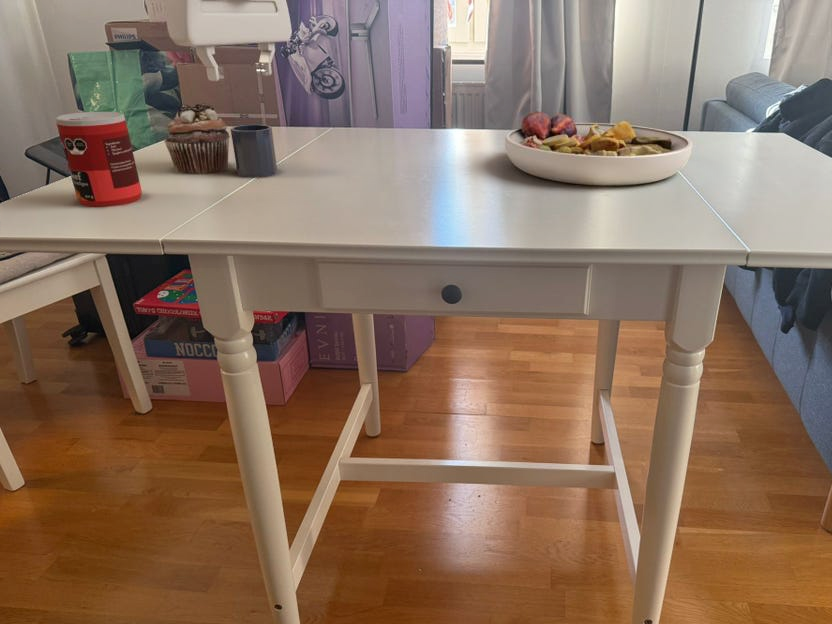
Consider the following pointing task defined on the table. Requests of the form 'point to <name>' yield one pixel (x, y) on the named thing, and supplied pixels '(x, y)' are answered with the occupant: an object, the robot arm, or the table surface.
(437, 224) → the table surface
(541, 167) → the bowl
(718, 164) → the table surface
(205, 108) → the cupcake
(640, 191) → the table surface
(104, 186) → the canned food
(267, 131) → the pot
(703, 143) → the table surface
